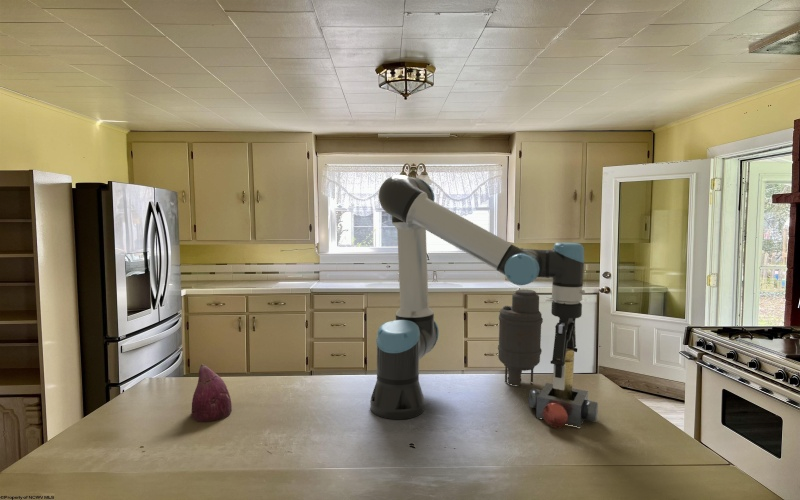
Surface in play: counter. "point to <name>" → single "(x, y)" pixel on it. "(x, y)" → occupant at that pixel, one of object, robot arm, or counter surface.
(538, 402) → the valve body
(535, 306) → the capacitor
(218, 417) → the vegetable
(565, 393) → the fitting
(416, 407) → the robot arm
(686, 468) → the counter surface
